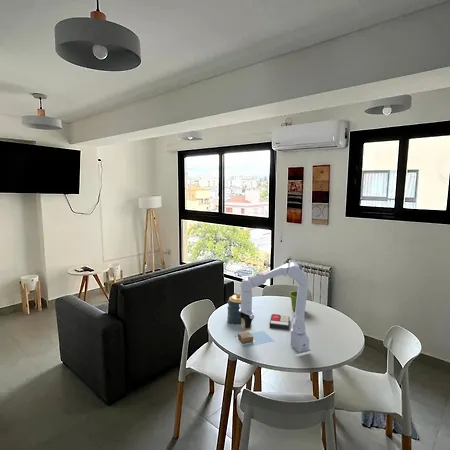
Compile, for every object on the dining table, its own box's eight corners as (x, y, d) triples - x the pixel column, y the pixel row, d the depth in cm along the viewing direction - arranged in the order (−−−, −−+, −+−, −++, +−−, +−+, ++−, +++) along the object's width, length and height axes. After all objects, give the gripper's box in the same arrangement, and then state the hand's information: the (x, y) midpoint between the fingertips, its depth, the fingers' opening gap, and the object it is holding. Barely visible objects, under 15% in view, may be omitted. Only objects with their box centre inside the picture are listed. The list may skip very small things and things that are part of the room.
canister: (225, 324, 179) (225, 296, 176) (229, 315, 191) (230, 288, 189) (246, 327, 176) (247, 298, 173) (250, 317, 188) (250, 290, 186)
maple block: (251, 329, 157) (251, 320, 156) (244, 330, 156) (244, 321, 155) (248, 325, 161) (248, 316, 160) (241, 327, 159) (241, 318, 159)
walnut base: (253, 341, 157) (253, 336, 157) (242, 343, 155) (242, 338, 155) (248, 336, 163) (248, 331, 162) (238, 338, 161) (238, 332, 160)
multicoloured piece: (289, 315, 185) (289, 324, 170) (289, 321, 185) (288, 332, 171) (271, 313, 188) (269, 322, 173) (271, 319, 188) (269, 329, 173)
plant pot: (285, 308, 203) (285, 292, 201) (299, 305, 208) (299, 290, 206) (296, 315, 192) (297, 298, 191) (310, 312, 197) (311, 295, 196)
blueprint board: (274, 342, 159) (274, 340, 158) (243, 348, 152) (243, 346, 152) (263, 332, 170) (263, 330, 170) (234, 337, 163) (234, 335, 163)
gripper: (233, 297, 161) (233, 321, 163) (245, 307, 148) (244, 333, 150) (245, 295, 164) (245, 319, 166) (257, 305, 151) (257, 331, 152)
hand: (245, 325), depth 158 cm, fingers closed on maple block, 4 cm apart
